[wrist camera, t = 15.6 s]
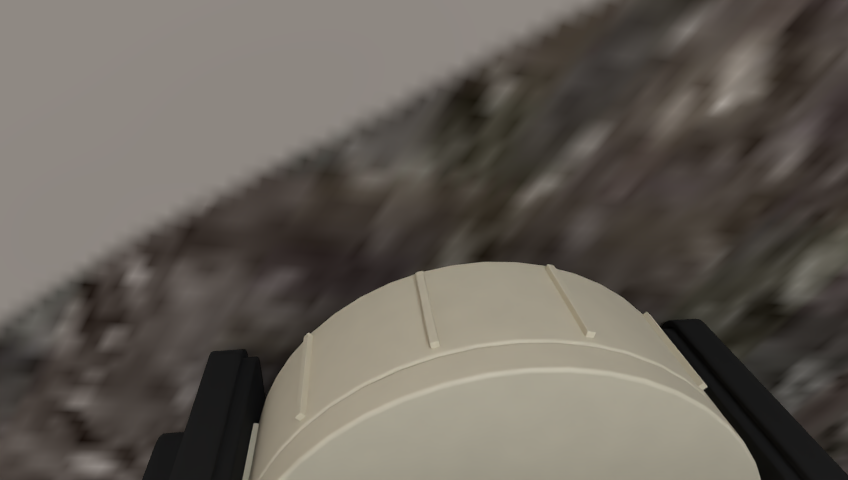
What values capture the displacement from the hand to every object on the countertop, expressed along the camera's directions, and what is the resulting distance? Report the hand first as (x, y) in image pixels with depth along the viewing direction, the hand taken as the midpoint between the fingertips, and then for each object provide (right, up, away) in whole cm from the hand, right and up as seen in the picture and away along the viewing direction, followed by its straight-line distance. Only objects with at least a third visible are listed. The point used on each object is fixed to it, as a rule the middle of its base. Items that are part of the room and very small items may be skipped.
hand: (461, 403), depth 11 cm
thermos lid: (0, -1, -3) cm, 3 cm away
